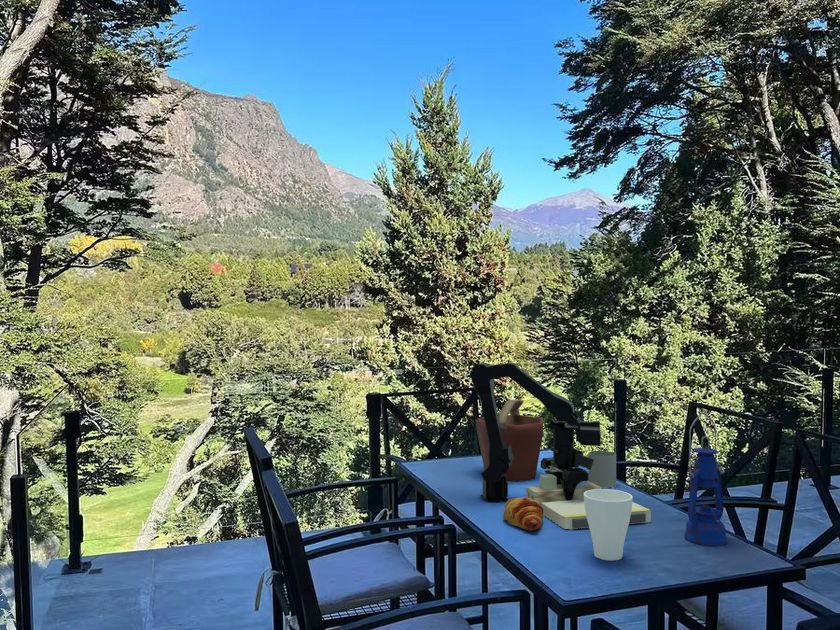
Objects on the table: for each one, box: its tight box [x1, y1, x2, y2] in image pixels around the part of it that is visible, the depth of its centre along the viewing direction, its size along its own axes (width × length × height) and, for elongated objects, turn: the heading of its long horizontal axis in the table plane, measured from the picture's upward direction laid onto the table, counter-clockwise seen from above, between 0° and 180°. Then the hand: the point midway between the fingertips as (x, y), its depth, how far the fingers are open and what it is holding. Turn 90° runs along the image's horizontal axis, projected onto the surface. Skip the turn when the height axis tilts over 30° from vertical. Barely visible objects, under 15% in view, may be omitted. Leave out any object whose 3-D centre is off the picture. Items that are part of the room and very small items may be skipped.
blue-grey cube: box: [576, 481, 589, 488], centre depth 192 cm, size 4×4×4 cm
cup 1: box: [588, 450, 617, 488], centre depth 211 cm, size 8×8×10 cm
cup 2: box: [584, 488, 634, 562], centre depth 149 cm, size 10×10×14 cm
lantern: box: [683, 411, 729, 547], centre depth 160 cm, size 11×9×30 cm
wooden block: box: [525, 481, 601, 505], centre depth 190 cm, size 20×6×5 cm, turn 104°
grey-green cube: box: [539, 473, 557, 490], centre depth 189 cm, size 4×4×4 cm
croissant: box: [503, 497, 544, 531], centre depth 175 cm, size 21×10×8 cm, turn 8°
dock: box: [541, 499, 652, 530], centre depth 177 cm, size 24×15×3 cm, turn 104°
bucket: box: [475, 399, 544, 483], centre depth 224 cm, size 24×22×25 cm
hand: (563, 499), depth 190 cm, fingers closed on wooden block, 6 cm apart
